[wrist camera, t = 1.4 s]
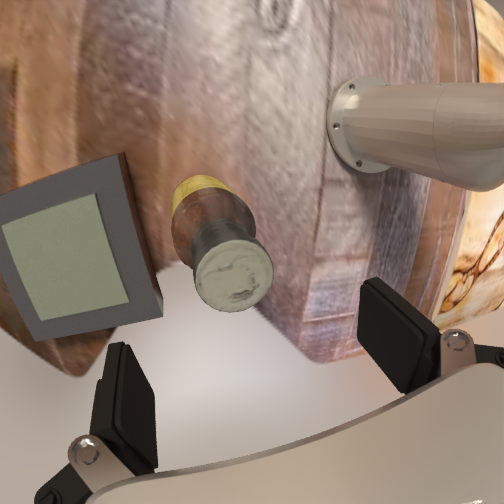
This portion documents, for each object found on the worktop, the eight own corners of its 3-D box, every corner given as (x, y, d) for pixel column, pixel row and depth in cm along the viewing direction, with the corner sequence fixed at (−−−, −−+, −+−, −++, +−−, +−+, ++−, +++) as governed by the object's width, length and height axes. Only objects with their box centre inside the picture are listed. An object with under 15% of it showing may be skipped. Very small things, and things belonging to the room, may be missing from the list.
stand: (124, 151, 29) (116, 155, 25) (163, 298, 36) (163, 318, 32) (-6, 197, 26) (-25, 207, 22) (44, 323, 33) (34, 343, 29)
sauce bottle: (220, 232, 35) (273, 344, 17) (166, 222, 33) (163, 334, 15) (234, 176, 33) (311, 238, 15) (178, 164, 31) (185, 213, 13)
